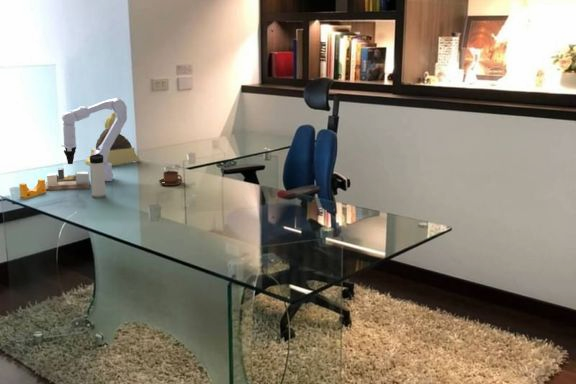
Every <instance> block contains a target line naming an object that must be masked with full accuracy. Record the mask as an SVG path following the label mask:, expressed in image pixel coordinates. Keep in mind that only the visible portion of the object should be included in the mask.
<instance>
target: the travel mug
mask: <svg viewBox="0 0 576 384" xmlns="http://www.w3.org/2000/svg"><path fill="white" fill-rule="evenodd" d="M90 155H91V154H90ZM90 155H89V157H90V166H89V169H90V186H91V187H90V188H91V197H92V198H95V199H102V198H105V197H106V194H107V193H106V181H105V176H104V161H103V155H100V154H96V155H91V156H90Z"/></svg>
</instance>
